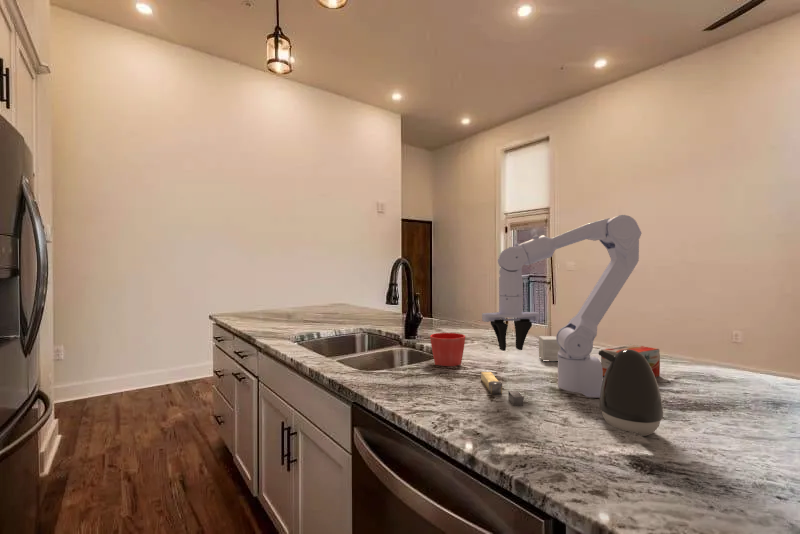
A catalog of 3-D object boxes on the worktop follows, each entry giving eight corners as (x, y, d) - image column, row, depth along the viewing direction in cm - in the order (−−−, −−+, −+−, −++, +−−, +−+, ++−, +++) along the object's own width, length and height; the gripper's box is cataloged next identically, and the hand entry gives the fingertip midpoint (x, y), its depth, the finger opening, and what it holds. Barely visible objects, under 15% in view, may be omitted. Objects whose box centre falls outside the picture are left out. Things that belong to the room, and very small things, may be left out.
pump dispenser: (604, 415, 78) (604, 341, 78) (665, 428, 71) (665, 348, 71) (592, 431, 70) (592, 350, 70) (660, 448, 63) (660, 358, 63)
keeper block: (517, 400, 83) (517, 390, 83) (523, 406, 79) (523, 397, 79) (508, 400, 83) (508, 390, 83) (513, 406, 79) (513, 397, 79)
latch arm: (503, 394, 86) (503, 385, 86) (490, 394, 87) (490, 385, 87) (492, 379, 98) (492, 371, 98) (480, 379, 98) (480, 371, 98)
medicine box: (631, 369, 113) (631, 343, 113) (660, 376, 106) (660, 348, 106) (599, 377, 105) (599, 348, 105) (629, 385, 98) (629, 354, 98)
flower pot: (424, 364, 119) (424, 333, 119) (456, 361, 123) (456, 331, 123) (438, 372, 109) (438, 339, 109) (471, 369, 112) (471, 337, 112)
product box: (557, 357, 127) (557, 336, 127) (562, 362, 121) (562, 339, 121) (538, 357, 128) (538, 335, 128) (542, 361, 122) (542, 339, 122)
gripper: (529, 294, 100) (529, 345, 100) (477, 294, 97) (477, 347, 97) (544, 296, 93) (544, 351, 93) (488, 297, 90) (488, 353, 90)
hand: (510, 349), depth 95 cm, fingers open, 4 cm apart
